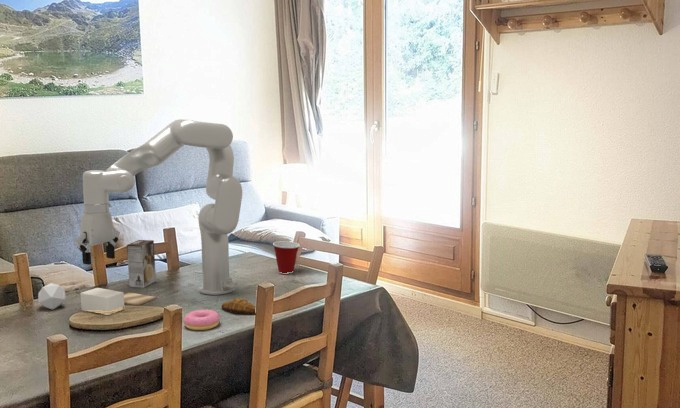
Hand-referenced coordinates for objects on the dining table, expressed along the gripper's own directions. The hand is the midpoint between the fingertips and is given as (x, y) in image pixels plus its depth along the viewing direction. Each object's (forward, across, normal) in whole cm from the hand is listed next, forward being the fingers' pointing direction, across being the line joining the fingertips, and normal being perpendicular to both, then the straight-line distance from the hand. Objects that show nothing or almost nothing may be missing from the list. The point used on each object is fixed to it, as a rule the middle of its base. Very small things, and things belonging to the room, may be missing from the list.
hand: (99, 261), depth 215 cm
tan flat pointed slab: (+16, -14, 0) cm, 22 cm away
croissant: (+17, -20, +41) cm, 48 cm away
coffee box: (+16, -30, -11) cm, 36 cm away
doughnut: (+17, -4, +39) cm, 42 cm away
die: (+17, +5, -17) cm, 25 cm away
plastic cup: (+16, -69, +28) cm, 76 cm away
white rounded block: (+17, 0, 0) cm, 17 cm away
